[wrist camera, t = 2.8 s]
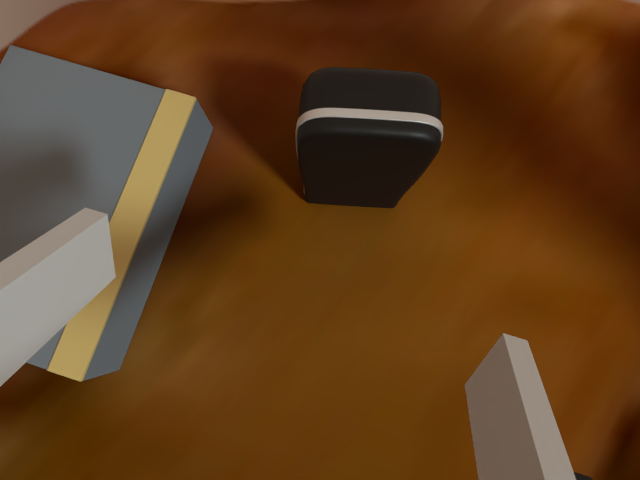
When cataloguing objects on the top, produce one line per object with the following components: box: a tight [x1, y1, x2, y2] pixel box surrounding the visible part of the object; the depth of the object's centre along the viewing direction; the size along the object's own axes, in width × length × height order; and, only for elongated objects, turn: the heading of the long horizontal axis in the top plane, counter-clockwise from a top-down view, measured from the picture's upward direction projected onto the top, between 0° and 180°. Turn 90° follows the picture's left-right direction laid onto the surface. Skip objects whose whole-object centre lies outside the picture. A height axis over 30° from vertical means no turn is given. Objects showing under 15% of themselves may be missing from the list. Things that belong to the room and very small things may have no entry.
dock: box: [0, 45, 213, 382], centre depth 25 cm, size 13×18×4 cm
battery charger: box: [296, 67, 443, 208], centre depth 22 cm, size 7×4×11 cm, turn 86°
